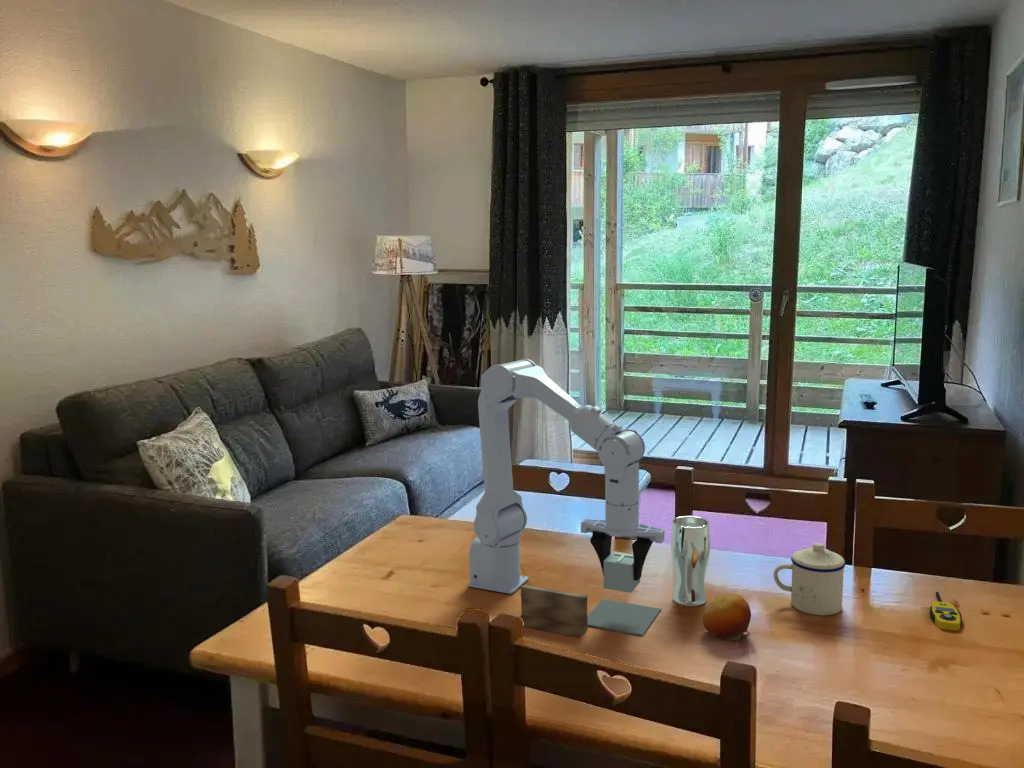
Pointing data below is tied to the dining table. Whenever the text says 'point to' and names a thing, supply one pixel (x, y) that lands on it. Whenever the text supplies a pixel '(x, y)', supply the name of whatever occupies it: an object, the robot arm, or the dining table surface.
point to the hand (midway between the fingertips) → (622, 576)
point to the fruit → (727, 616)
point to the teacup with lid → (815, 580)
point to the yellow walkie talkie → (945, 615)
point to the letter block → (619, 572)
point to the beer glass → (690, 559)
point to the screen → (554, 610)
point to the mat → (622, 617)
